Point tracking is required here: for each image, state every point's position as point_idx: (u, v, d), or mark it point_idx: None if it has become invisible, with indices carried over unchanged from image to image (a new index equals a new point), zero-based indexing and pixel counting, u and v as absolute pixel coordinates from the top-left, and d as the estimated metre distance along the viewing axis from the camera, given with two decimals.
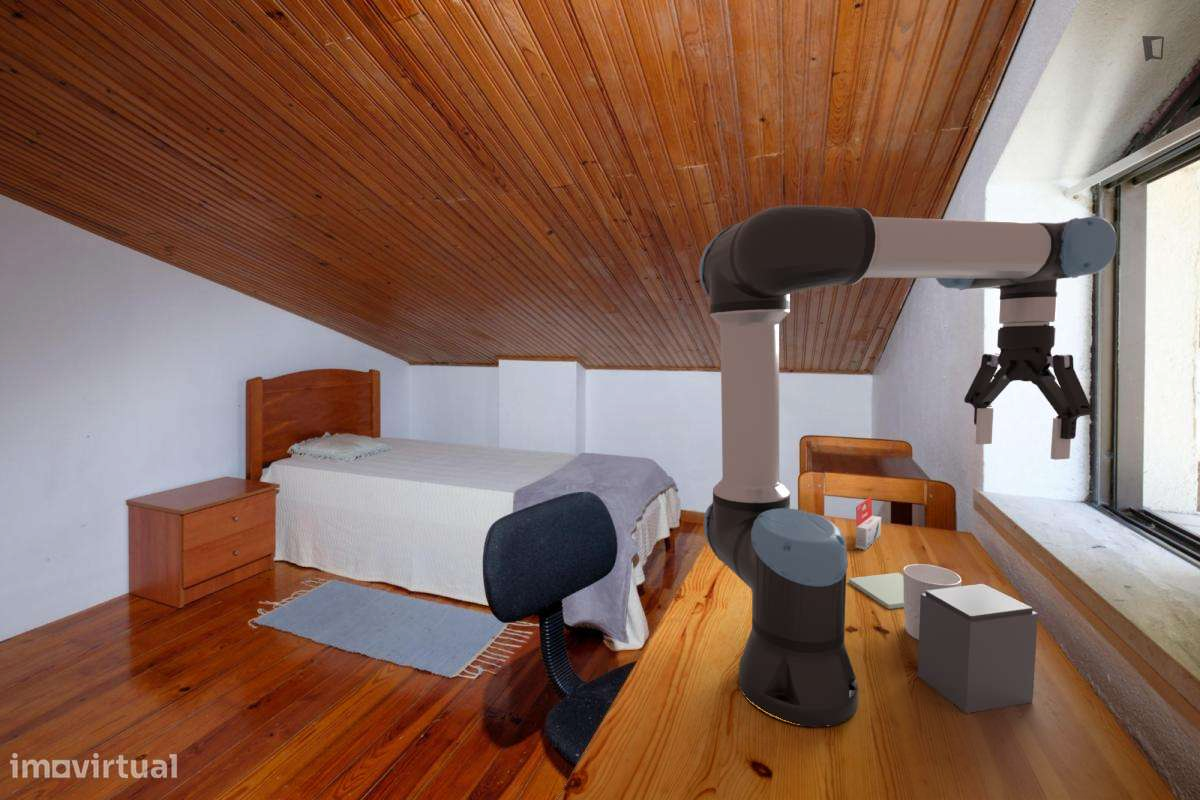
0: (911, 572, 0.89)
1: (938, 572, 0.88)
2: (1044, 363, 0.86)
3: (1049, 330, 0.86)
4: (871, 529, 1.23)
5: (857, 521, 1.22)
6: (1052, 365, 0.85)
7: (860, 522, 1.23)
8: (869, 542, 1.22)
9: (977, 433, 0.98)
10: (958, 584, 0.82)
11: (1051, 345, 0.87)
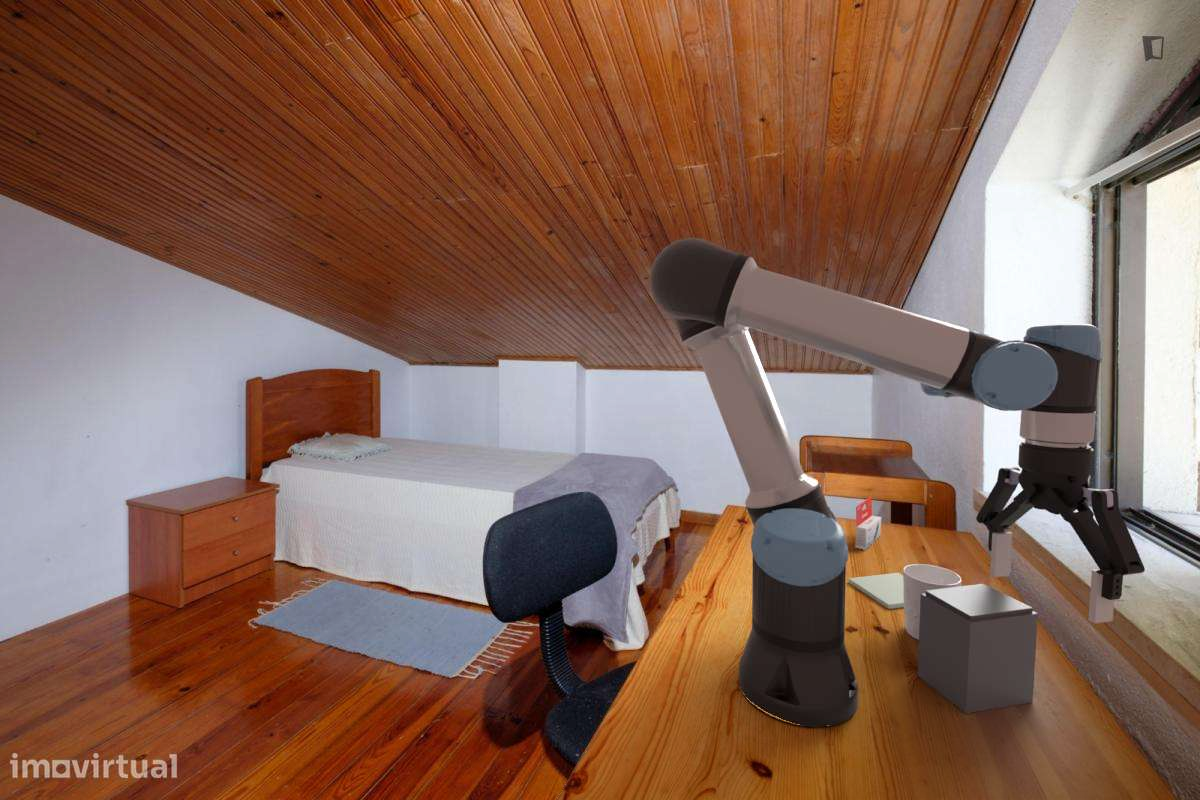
0: (911, 572, 0.89)
1: (938, 572, 0.88)
2: (1080, 497, 0.68)
3: (1086, 454, 0.68)
4: (871, 529, 1.23)
5: (857, 521, 1.22)
6: (1091, 502, 0.66)
7: (860, 522, 1.23)
8: (869, 542, 1.22)
9: (992, 563, 0.80)
10: (958, 584, 0.82)
11: (1088, 473, 0.68)
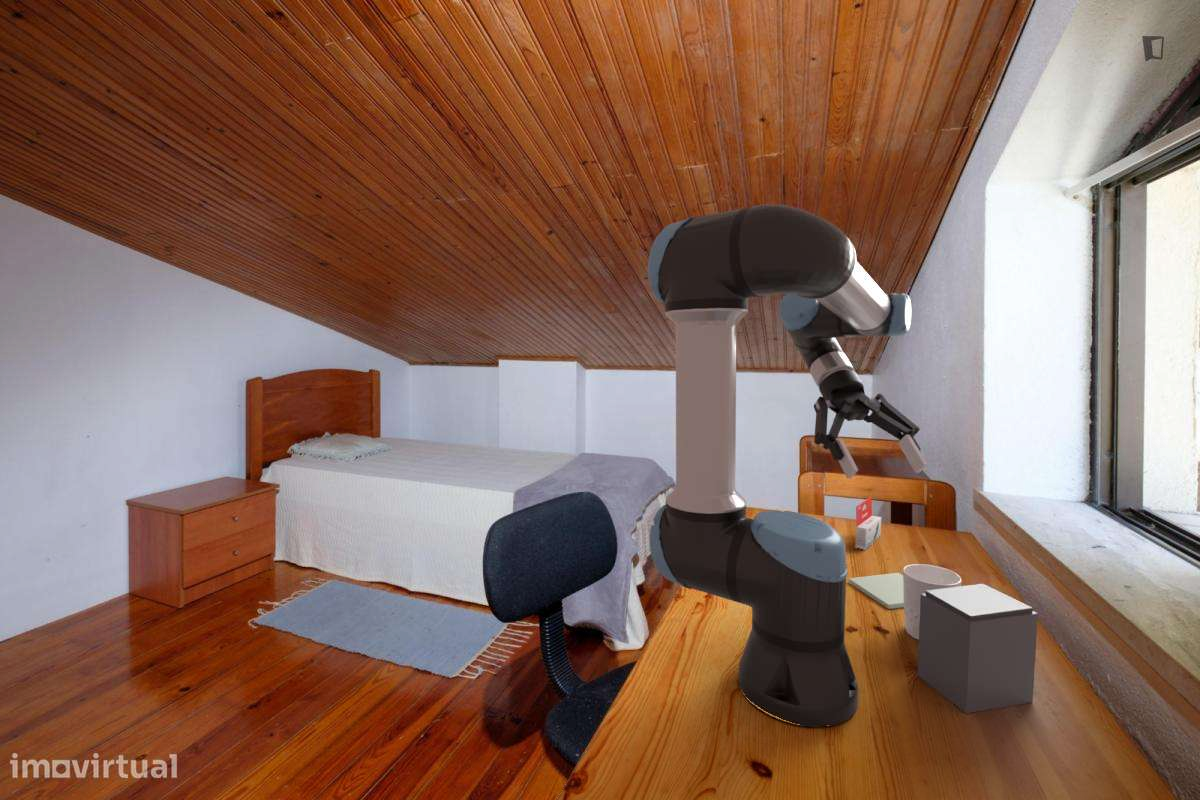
0: (911, 572, 0.89)
1: (938, 572, 0.88)
2: (871, 401, 1.04)
3: None
4: (871, 529, 1.23)
5: (857, 521, 1.22)
6: (880, 400, 1.03)
7: (860, 522, 1.23)
8: (869, 542, 1.22)
9: (851, 460, 0.93)
10: (958, 584, 0.82)
11: None
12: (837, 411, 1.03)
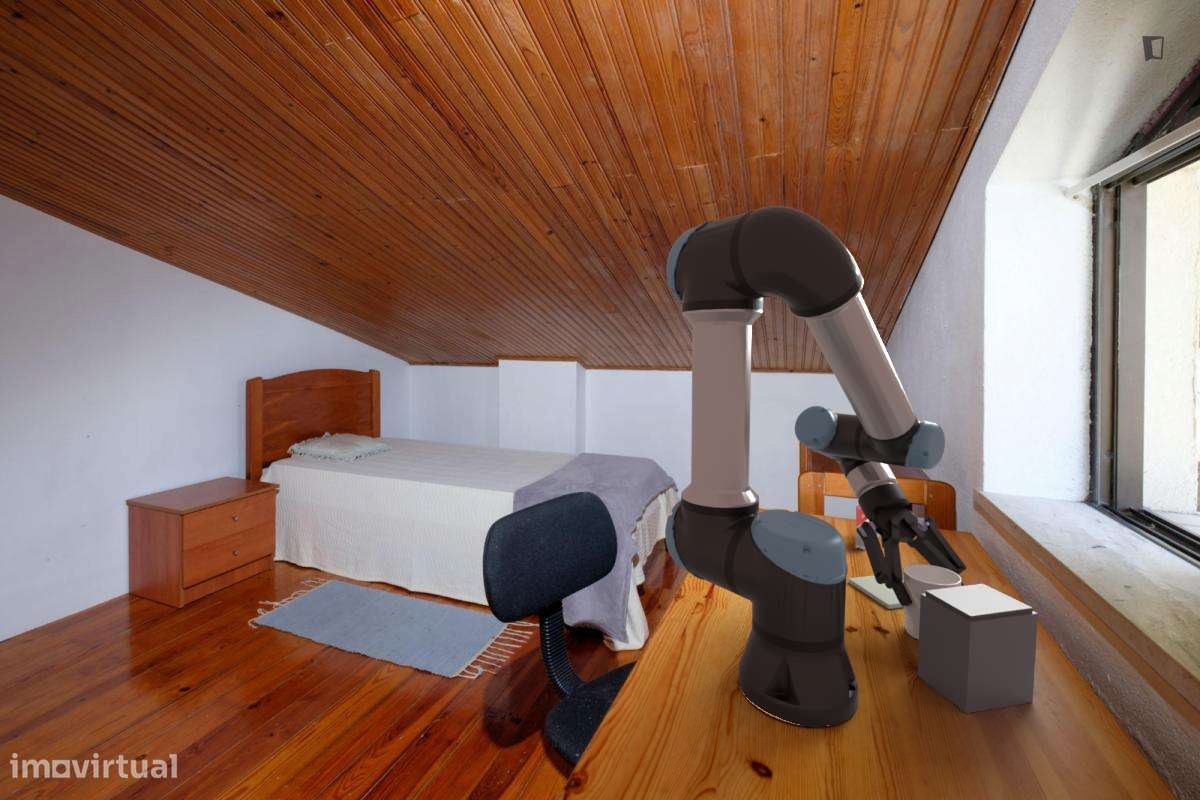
0: (911, 572, 0.89)
1: (938, 572, 0.88)
2: (917, 520, 0.93)
3: None
4: None
5: (857, 521, 1.22)
6: (928, 523, 0.92)
7: (860, 522, 1.23)
8: None
9: None
10: (958, 584, 0.82)
11: None
12: (880, 532, 0.92)
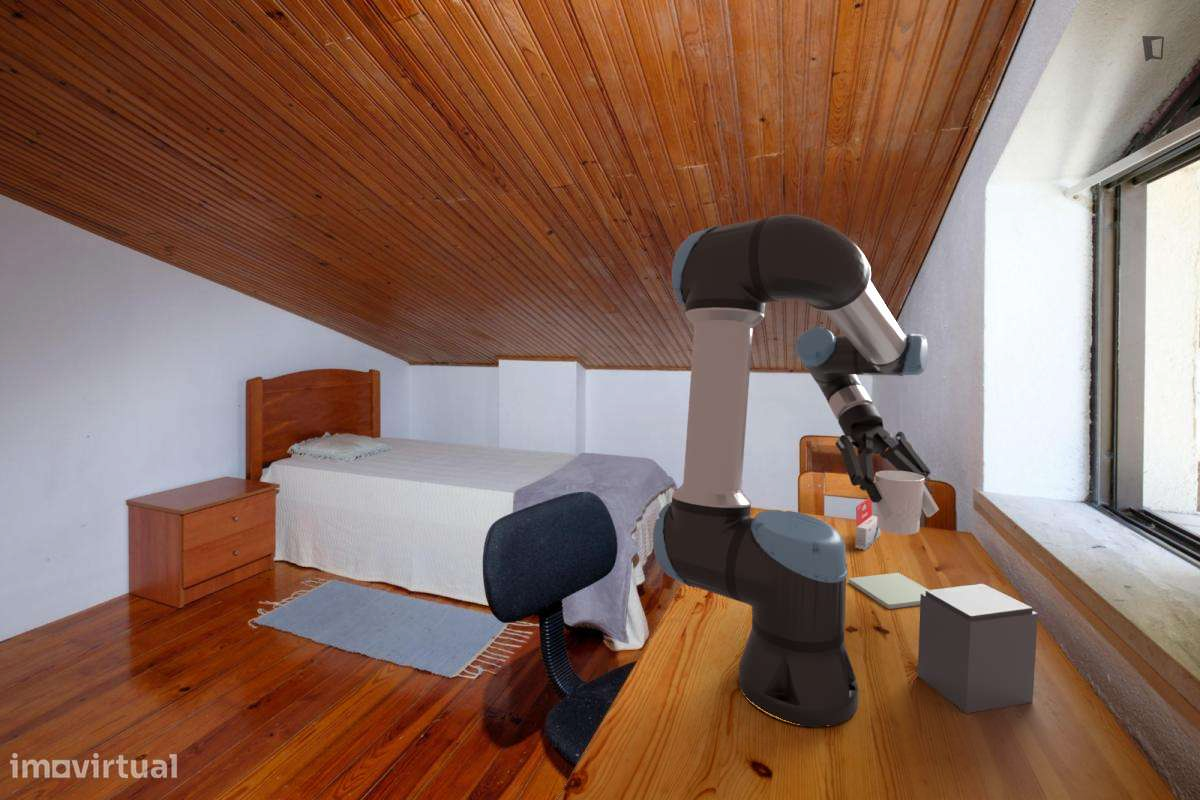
0: (883, 477, 1.02)
1: (906, 476, 1.01)
2: (890, 435, 1.06)
3: None
4: (871, 529, 1.23)
5: (857, 521, 1.22)
6: (899, 437, 1.05)
7: (860, 522, 1.23)
8: (869, 542, 1.22)
9: (889, 503, 0.95)
10: (921, 481, 0.95)
11: None
12: (857, 445, 1.05)
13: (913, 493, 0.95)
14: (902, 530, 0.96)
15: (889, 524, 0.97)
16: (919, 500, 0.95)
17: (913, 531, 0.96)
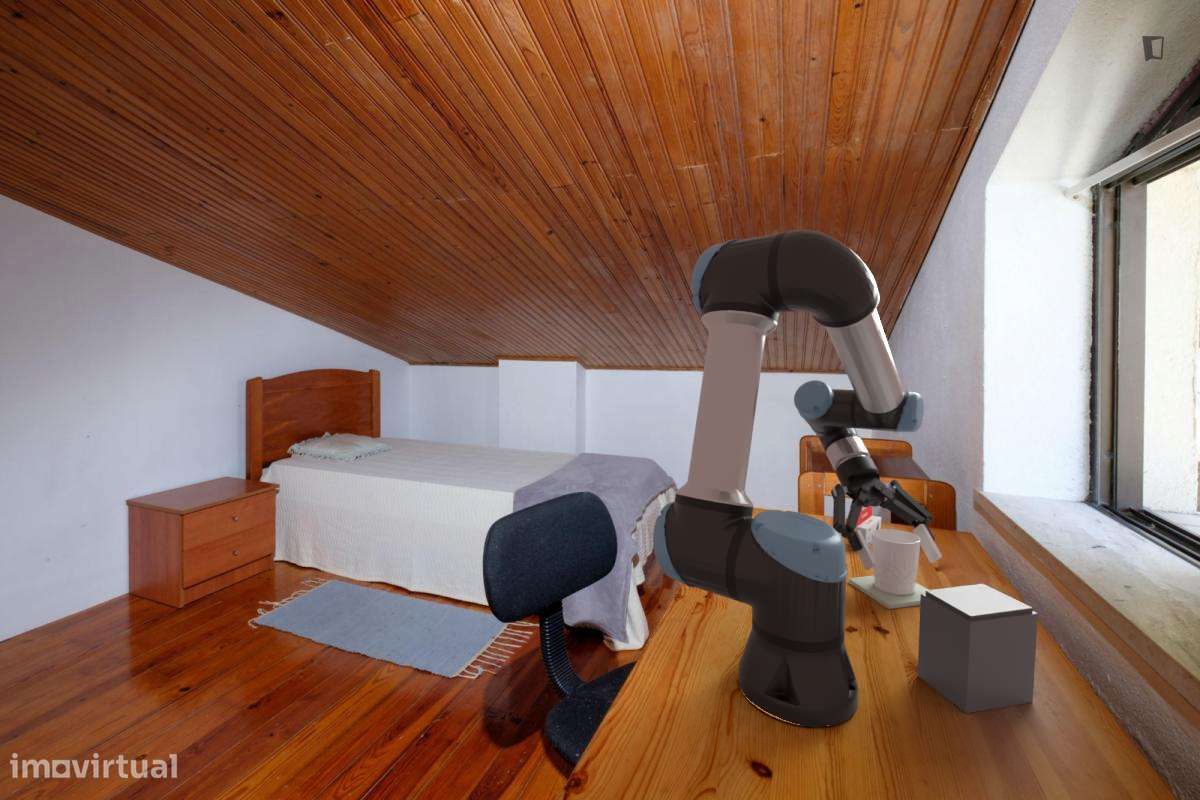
0: (879, 535, 1.03)
1: (902, 535, 1.02)
2: (886, 487, 1.07)
3: None
4: (871, 529, 1.23)
5: None
6: (895, 487, 1.07)
7: (860, 522, 1.23)
8: (869, 542, 1.22)
9: (869, 553, 0.97)
10: (917, 543, 0.96)
11: None
12: (854, 497, 1.06)
13: (910, 555, 0.96)
14: (899, 591, 0.97)
15: (885, 584, 0.99)
16: (915, 562, 0.97)
17: (909, 592, 0.98)
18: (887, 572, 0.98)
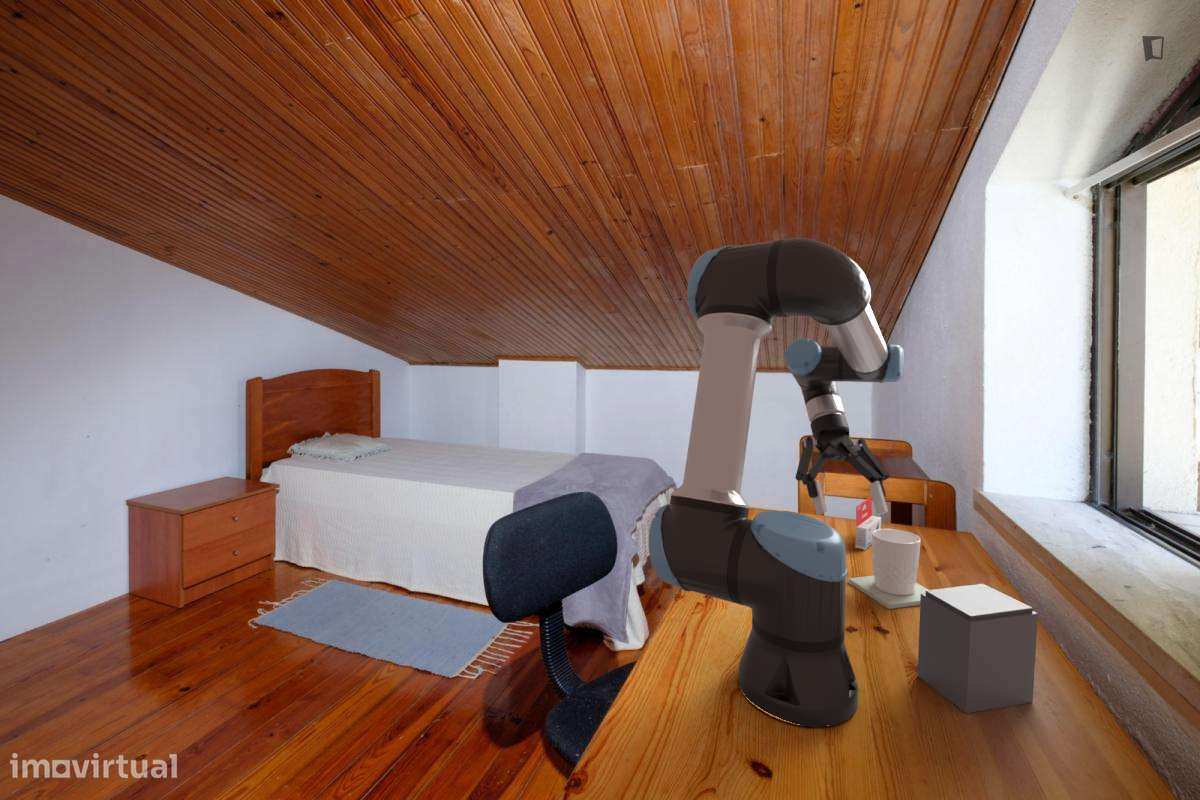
0: (879, 535, 1.03)
1: (902, 535, 1.02)
2: (853, 444, 1.17)
3: None
4: (871, 529, 1.23)
5: (857, 521, 1.22)
6: (861, 445, 1.17)
7: (860, 522, 1.23)
8: (869, 542, 1.22)
9: (822, 501, 1.09)
10: (917, 543, 0.96)
11: None
12: (821, 450, 1.16)
13: (910, 555, 0.96)
14: (899, 591, 0.97)
15: (885, 584, 0.99)
16: (915, 562, 0.97)
17: (909, 592, 0.98)
18: (887, 572, 0.98)
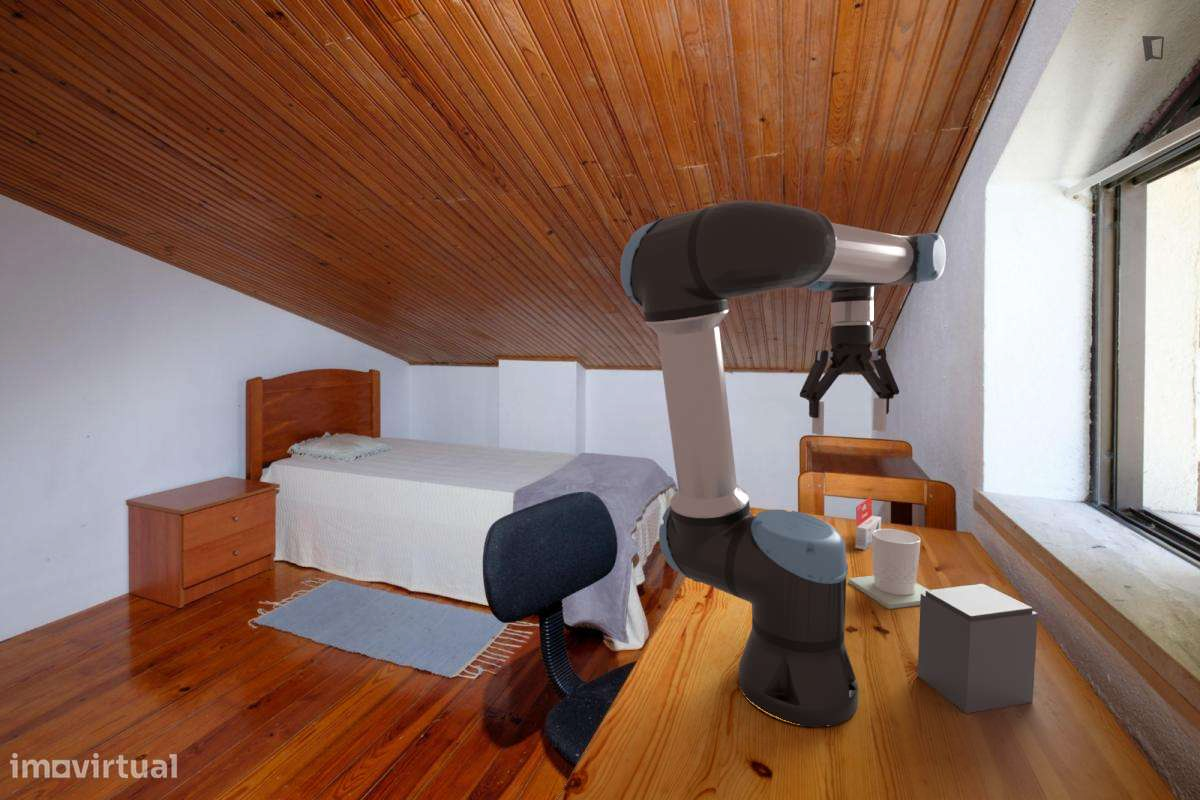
0: (879, 535, 1.03)
1: (902, 535, 1.02)
2: (871, 356, 1.06)
3: None
4: (871, 529, 1.23)
5: (857, 521, 1.22)
6: (880, 357, 1.06)
7: (860, 522, 1.23)
8: (869, 542, 1.22)
9: (821, 425, 1.04)
10: (917, 543, 0.96)
11: None
12: (835, 362, 1.06)
13: (910, 555, 0.96)
14: (899, 591, 0.97)
15: (885, 584, 0.99)
16: (915, 562, 0.97)
17: (909, 592, 0.98)
18: (887, 572, 0.98)
